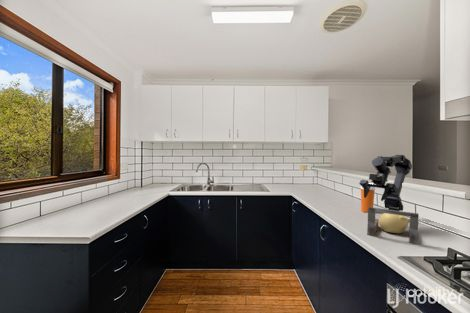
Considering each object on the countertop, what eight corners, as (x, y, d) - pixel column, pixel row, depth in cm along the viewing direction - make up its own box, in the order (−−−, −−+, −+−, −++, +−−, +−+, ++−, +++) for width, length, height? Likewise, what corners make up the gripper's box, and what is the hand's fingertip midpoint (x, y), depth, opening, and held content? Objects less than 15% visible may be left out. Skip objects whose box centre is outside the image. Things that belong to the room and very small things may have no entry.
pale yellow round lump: (412, 235, 122) (413, 214, 122) (388, 235, 122) (389, 213, 122) (396, 228, 134) (397, 208, 133) (374, 228, 133) (375, 208, 133)
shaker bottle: (373, 210, 173) (374, 182, 173) (374, 213, 165) (375, 183, 165) (359, 209, 177) (360, 181, 176) (359, 212, 169) (360, 182, 168)
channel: (372, 225, 138) (373, 201, 138) (416, 232, 127) (417, 206, 127) (367, 234, 122) (368, 207, 122) (417, 244, 111) (418, 214, 110)
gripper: (360, 166, 146) (350, 189, 141) (394, 169, 130) (385, 194, 125) (367, 176, 151) (358, 198, 146) (402, 180, 135) (393, 205, 131)
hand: (372, 199), depth 137 cm, fingers open, 9 cm apart
